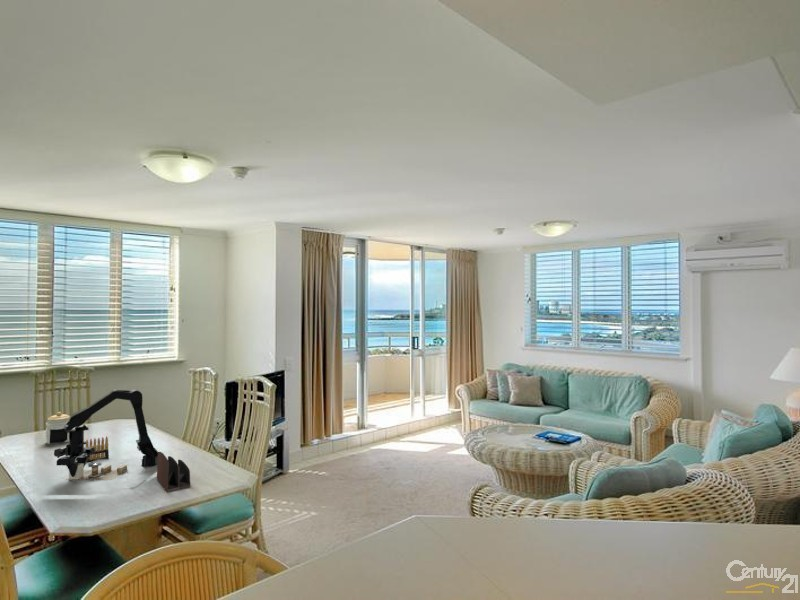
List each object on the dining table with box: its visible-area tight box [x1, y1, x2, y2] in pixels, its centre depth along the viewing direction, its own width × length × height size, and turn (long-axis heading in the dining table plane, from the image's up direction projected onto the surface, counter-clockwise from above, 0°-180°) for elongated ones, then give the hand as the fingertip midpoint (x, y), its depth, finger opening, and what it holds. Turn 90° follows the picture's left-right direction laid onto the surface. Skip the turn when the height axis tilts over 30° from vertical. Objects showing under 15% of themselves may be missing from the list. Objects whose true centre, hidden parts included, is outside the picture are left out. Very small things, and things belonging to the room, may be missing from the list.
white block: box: [68, 463, 85, 479], centre depth 227 cm, size 4×4×6 cm
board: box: [65, 469, 121, 481], centre depth 230 cm, size 21×14×2 cm, turn 90°
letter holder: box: [156, 451, 191, 493], centre depth 223 cm, size 10×20×14 cm, turn 37°
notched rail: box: [100, 464, 128, 475], centre depth 234 cm, size 10×5×2 cm, turn 90°
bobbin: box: [87, 461, 102, 478], centre depth 229 cm, size 5×5×6 cm
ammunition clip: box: [85, 436, 110, 464], centre depth 257 cm, size 11×2×12 cm, turn 131°
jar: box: [45, 411, 71, 445], centre depth 295 cm, size 13×13×18 cm
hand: (76, 474), depth 226 cm, fingers open, 4 cm apart
